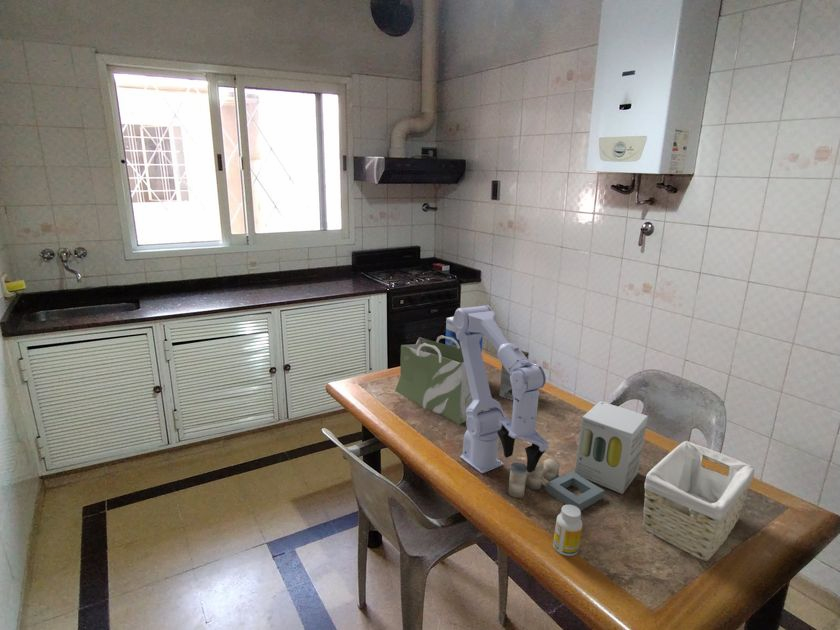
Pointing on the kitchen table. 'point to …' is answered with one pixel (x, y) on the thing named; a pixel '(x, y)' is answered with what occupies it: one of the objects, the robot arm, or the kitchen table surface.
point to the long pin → (517, 479)
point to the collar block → (571, 478)
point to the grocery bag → (435, 378)
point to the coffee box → (507, 382)
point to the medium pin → (535, 477)
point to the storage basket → (695, 499)
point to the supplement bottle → (568, 530)
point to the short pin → (551, 469)
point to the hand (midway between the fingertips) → (519, 463)
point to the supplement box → (610, 446)
